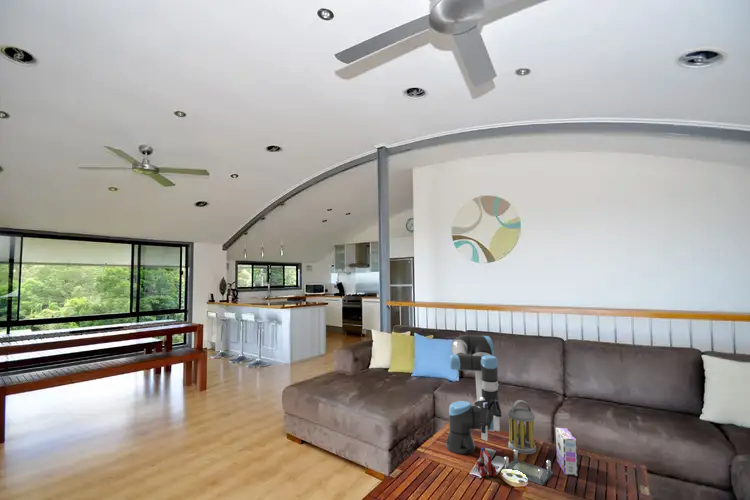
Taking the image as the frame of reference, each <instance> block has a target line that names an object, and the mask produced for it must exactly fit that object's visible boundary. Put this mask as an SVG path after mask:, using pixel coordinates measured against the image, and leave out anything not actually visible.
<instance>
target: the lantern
mask: <svg viewBox="0 0 750 500" xmlns="http://www.w3.org/2000/svg"><path fill="white" fill-rule="evenodd" d="M520 403H525V405H526V407H527V408H526V407H522V406H517V405H518V404H520ZM516 406H517V407H516ZM507 415H508V427H509V429H508V430H509V441H507V445H508V446H507V447H508V448H509V450H511V451H512V452H514V449H517V450H518V454H522V455H531V454H532V455H533V454H535V453H536V452H537V446H536V445H535V414H534V413H533V412H532V409H531V407H530V405H529V404H528V402H526V401H525V400H523V399H518V400H516V401H515V402H514V403H513V404H512V406H511V408H510V409H509V411H508V412H507ZM517 421H519V422H517ZM517 423H518V424H517Z"/></svg>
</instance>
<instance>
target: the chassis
mask: <svg viewBox="0 0 750 500" xmlns="http://www.w3.org/2000/svg"><path fill="white" fill-rule="evenodd" d="M551 462H552V461H551V460H550V459H546V469H545V468H542V467H540V466H537V465H533V464H531V463H528V462H525V461H522V460H519V453H518V450H517V449H514V451H513V460H511V461H509V456H504V467H503V468H502V470H503V469H512V470H518V471H520V472H522V473H523V474H525V475H526V477H527V478H528V480H527V481H530V482H531V483H535V484H538V485H540V486H543V485H545V484H546V482H547V481H548V480H549V479H550V478H551V477H552V476H553V473H554V472H553V471H552V463H551Z"/></svg>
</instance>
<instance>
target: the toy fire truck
mask: <svg viewBox="0 0 750 500" xmlns="http://www.w3.org/2000/svg"><path fill="white" fill-rule="evenodd" d="M479 453H480V454H479V461H478V460H477V461H476V464H475V465H476V470H477V469H478V470H477V471H478V472H479V475H480V477H482V478H483V477H485V476H486V475H487V476H489V477H490V476H492V477H496V476H497V473H498V472H497V468H496V467H495V466H493V462H492V456H491V455H490V454H489V452H488V450H486V448H485V447H481V448H480V452H479Z"/></svg>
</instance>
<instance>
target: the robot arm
mask: <svg viewBox="0 0 750 500" xmlns="http://www.w3.org/2000/svg"><path fill="white" fill-rule="evenodd" d="M450 348H451V349H450V350H451V352H452V354H450V355H449V356H450V357H449V358H450V361H449V365H450V369H451V370H452V371H453V370H454V371H468V372H469V371H472V372H474V375H475V390H476V391H475V392H476V400H475V401H474V404H473V405H472V403H471V402H470V401H466V400H458V401H454V402H451V404H450V405H449V410H448V417H449V418H448V421H449V423H448V424H449V426H448V427H449V429H448V430H449V431H448V435H447V438H446V442H445V447H446V449H447V450H448V451H450V452H452V453H454V454H459V455H468V454H471V453H474V452H475V451H476V444H475V440H474V438H473V434H472V430H479V431H480V432H481V435H480V436H481V437H480V438H481V440H483V441H485V442H488V440H489V439H488V436H489V435H488V431H489V432H491V431H493V432H494V431H495V432H500V425H501V424H500V423H501V421H500V420H501V417H502V410H501V406H500V402H499V390H498V389H499V386H500V384H499V376H498V374H499V371H498V368H499V367H498V366H499V363H498V358H497V357H496V356H494V355H495V351H494V343H493V340H492V338H491V337H490V336H489V335H470V334H469V335H468V334H467V335H459V336H458V337H455V338H454V339H453V340H452V341H451V344H450Z"/></svg>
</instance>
